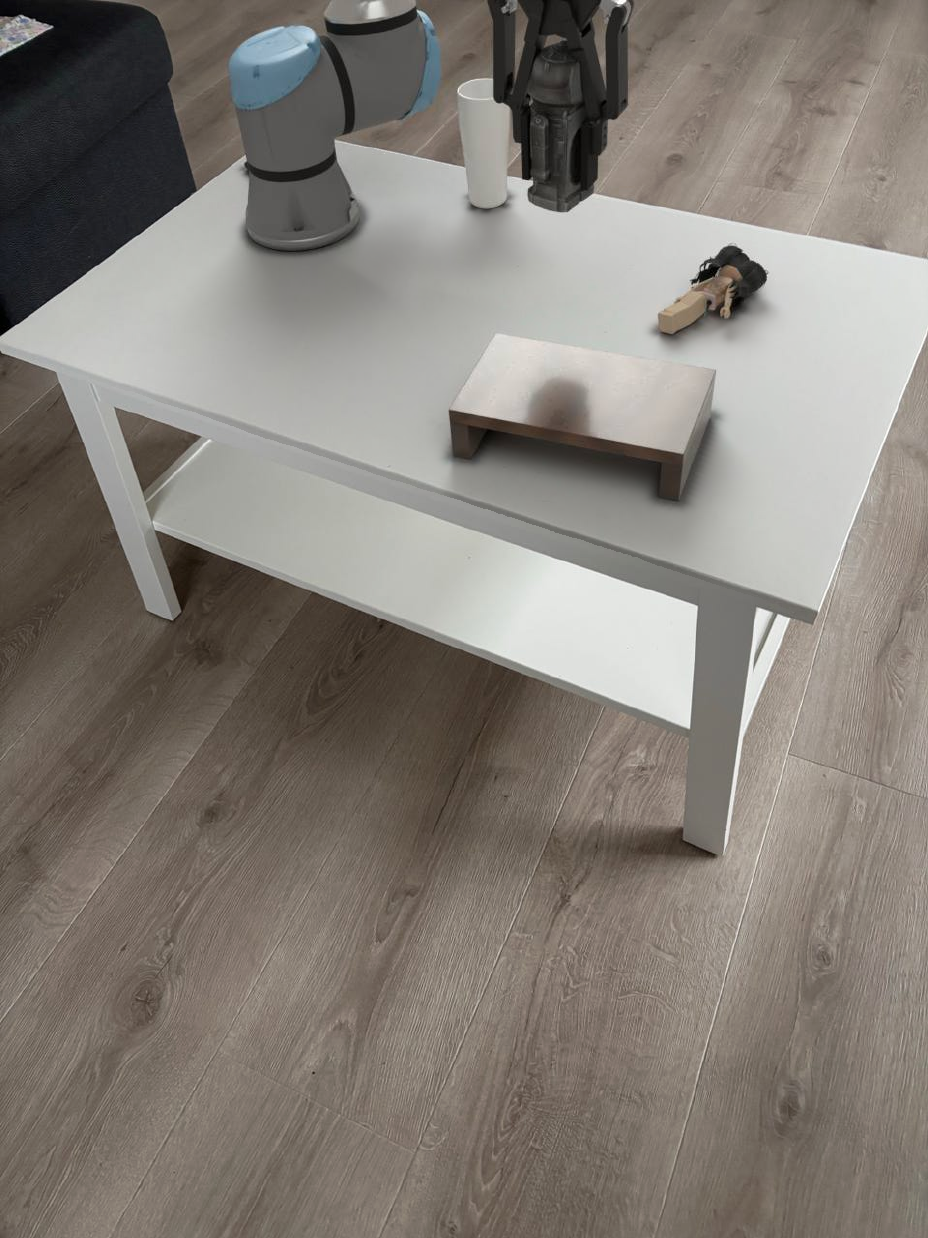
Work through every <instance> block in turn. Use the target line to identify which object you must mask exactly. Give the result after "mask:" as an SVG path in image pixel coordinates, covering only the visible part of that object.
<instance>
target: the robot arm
mask: <svg viewBox="0 0 928 1238" xmlns="http://www.w3.org/2000/svg"><path fill="white" fill-rule="evenodd" d="M486 1H487V5H488V9H489V12H490V16H491V19H492V79H493V99H494V101H495V102H496V103H498V104H501V103H504V104H506V105H507V106H509V107H510V111H511V113H512V114H511V115H512V118H511V119H512V138H513V141H514V143H515V144H520V157H521V158H520V159H521V180H523V181H530V180H531V179H533V177H532V176H531V169H532V159H531V152H530V121H531V105H532V103H531V104H530V102H531V101H533V99H532V97H531V96H530V95H529V94H528V92H527V87H528V85H529V82H530V78H531V73H532V67H533V64H534V61H535V58H536V56H537V55H538V54H539V53H540V52H541V51H542V50H543V49H544V48H545V47H546V43H547V39H548V37H549V36H554V35H555V36H558V37H560V38H562V39H566V41H567V43H568V47H569V50H570V51H572V53H573V57H574V59H575V60H576V61H577V62H578V63H579V66H580V83H581V89H582V93H583V97H584V101H585V105H586V109H587V113H588V117H587V118H586V119H585V120H584V122H583V123H582V124H581V177H580V190H586V191H587V190H588V189H589V188H590V187H591V186H592V185H593V184H594V185H595V183H596V182H597V180H598V178H599V157H600V156H601V155H602V154H603V153H604V151H606V149H607V147H608V134H609V133H608V131H609V120H611V121H616V120H617V119H619V117H620V116H621V115H622V113H623V112H624V111H625V110H626V109H627V108H628V105H629V24H630V23H629V22H630V20H631V16H632V14H633V11H634V8H635V2H634V0H486ZM518 4H519V5H520V8H521V9H522V11H523V13H524V14H525V16H526V17H527V24H526V28H525V32H524V36H523V41H524V44H523V48H522V53H521V57H520V60H519V65H518V69H517V74H516V27H517V25H516V21H517V20H516V17H517V16H516V10H517V8H518ZM599 9H600V10H601V12H602V21H603V24H604V25H606V29H605V35H604V36H605V38H604V39H605V40H604V42H605V43H604V45H605V47H604V48H605V80H604V75H603V72H602V67H601V63H600V59H599V53H598V50H597V45H596V41H595V36H596V31H595V27H594V23H593V22H594V21H593V17H594V16H595V15H596V13H597V12H598V10H599ZM323 20H324V24H325V31H326V33H324V34H322V35H318V34H317V32H316V31H315V30H314V29H312V28H311V27H308V26H305V25H301V24H300V25H299V24H298V25H297V24H292V25H290V26H287V27H285V26H284V25H283V26H282V25H281V26H277V27H273V28H270V29H267V30H263V31H261V32H259V33H257V34H254V35H252V36H251V37H248V38H247V39H245V41H243V42H242V43H240V44H239V45H238V46H237V48H236V49H235V51H234V52H233V53H232V55H231V56H230V58H229V61H228V75H229V83H230V96H231V101H232V104H233V105H234V108H235V113H236V117H237V122H238V123H237V124H238V127H239V131H240V136H241V140H242V145H243V150H244V155H245V159H246V161H245V162H244V164H243V165H244V168H246V169H247V170H248V173H249V178H248V188H247V189H248V190H247V205H246V209H245V223H246V227H247V231H248V234H249V236H250V238H251V239H252V240H253V241H254V242H256V243H257V244H259V245H261V246H263V247H266V248H269V249H274V250H278V251H287V252H288V251H290V252H293V251H306V250H312V249H317V248H322V247H324V246H327V245H330V244H333V243H335V242H337V241H339V240H341V239H343V238H345V237H346V236H348V235H349V234H350V233H351V232H352V231H353V230H354V229H355V228H356V226H357V225H358V222H359V220H360V213H359V206H358V202H357V201H358V200H357V199H356V196H355V193H354V192H353V190H352V187H351V186H350V183H349V182H348V179H347V177H346V175H345V173H344V172H343V170H342V168H341V166H340V164H339V161H338V157H337V151H336V142H335V139H336V138H339V137H342V136H345V135H350V134H353V133H356V132H360V131H363V130H367V129H369V128H373V127H376V126H380V125H383V124H386V123H389V122H394V121H402V120H405V119H407V118H408V117H410V116H412V115H415V114H418V113H421V112H422V111H425V110H426V109H428V108H429V107H430V106H431V105H432V103H433V101H434V99H435V98H436V97H437V94H438V91H439V88H440V83H441V78H442V77H441V76H442V57H441V56H442V55H441V48H440V43H439V38H438V37H437V36H436V34H435V33H436V29H435V26H434V24H433V22H432V20H431V19H430V17H429V16H428V15H427V13H425V12H424V11H422V10H418V9H417V1H416V0H330V2H329V4H328V5H327V7H326V9H325V10H324V12H323Z"/></svg>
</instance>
